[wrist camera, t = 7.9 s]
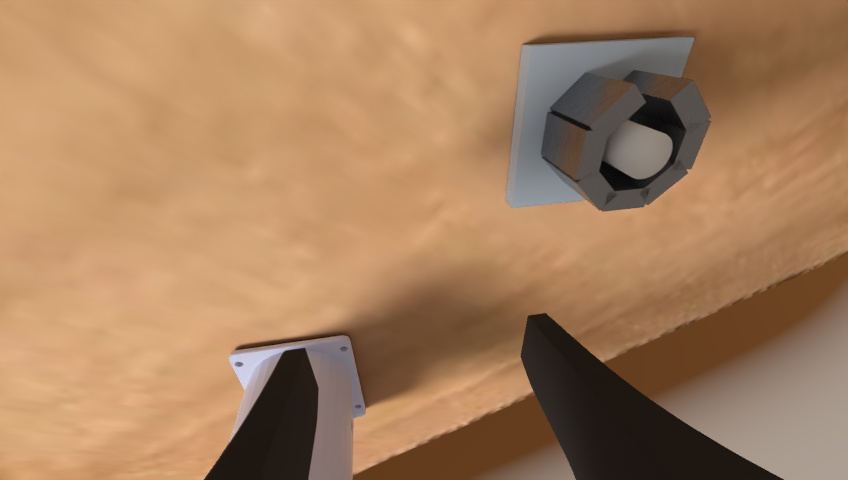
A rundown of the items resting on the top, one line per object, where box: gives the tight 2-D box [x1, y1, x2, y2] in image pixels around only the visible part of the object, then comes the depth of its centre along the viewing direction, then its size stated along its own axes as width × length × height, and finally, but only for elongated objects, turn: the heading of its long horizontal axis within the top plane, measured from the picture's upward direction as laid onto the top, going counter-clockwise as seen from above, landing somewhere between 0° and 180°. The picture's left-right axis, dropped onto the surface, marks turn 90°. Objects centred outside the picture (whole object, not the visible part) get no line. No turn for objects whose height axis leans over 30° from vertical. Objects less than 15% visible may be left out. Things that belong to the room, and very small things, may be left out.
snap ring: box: [541, 70, 711, 211], centre depth 16 cm, size 6×6×4 cm
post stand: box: [506, 37, 695, 208], centre depth 16 cm, size 8×8×5 cm
